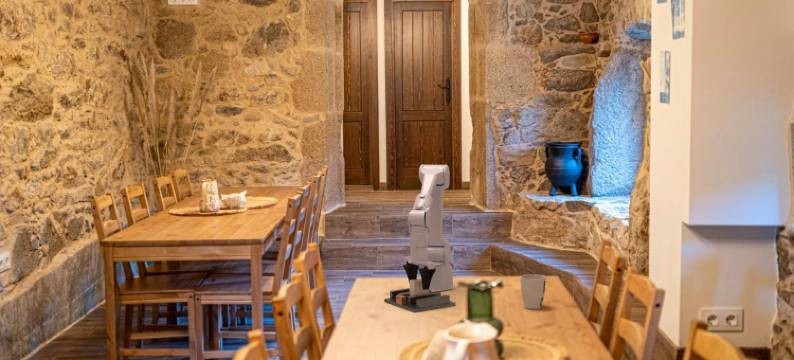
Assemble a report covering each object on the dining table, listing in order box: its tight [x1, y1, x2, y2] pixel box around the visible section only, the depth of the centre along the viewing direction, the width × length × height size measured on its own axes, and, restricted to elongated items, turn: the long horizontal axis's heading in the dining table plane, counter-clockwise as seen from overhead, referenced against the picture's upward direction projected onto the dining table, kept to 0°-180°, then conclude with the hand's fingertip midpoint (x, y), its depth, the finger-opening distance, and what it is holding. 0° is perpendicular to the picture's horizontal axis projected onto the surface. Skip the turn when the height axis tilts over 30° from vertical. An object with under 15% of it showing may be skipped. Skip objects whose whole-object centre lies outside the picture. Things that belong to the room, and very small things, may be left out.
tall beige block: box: [409, 278, 429, 296], centre depth 296 cm, size 6×2×7 cm, turn 123°
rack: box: [383, 287, 456, 313], centre depth 296 cm, size 16×18×4 cm
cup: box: [520, 273, 547, 310], centre depth 289 cm, size 8×8×10 cm
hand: (419, 287), depth 296 cm, fingers open, 7 cm apart
